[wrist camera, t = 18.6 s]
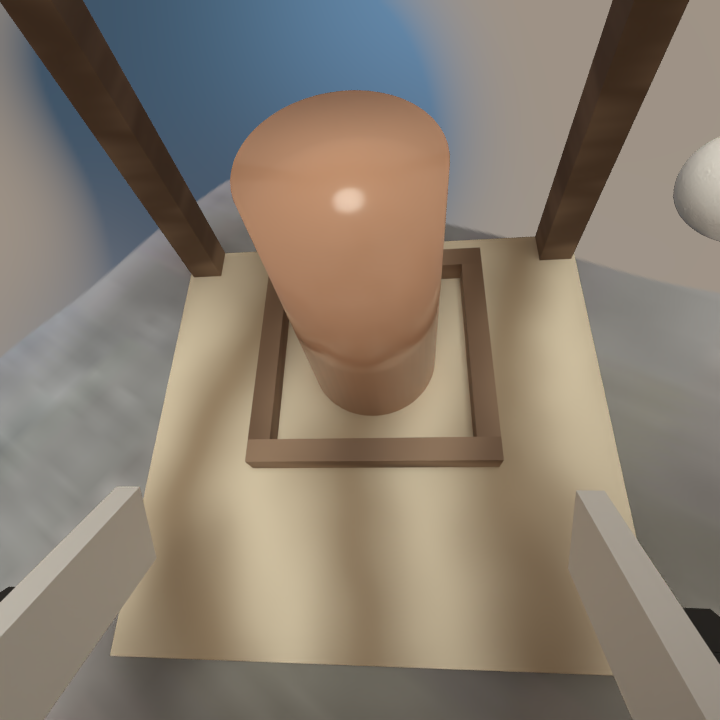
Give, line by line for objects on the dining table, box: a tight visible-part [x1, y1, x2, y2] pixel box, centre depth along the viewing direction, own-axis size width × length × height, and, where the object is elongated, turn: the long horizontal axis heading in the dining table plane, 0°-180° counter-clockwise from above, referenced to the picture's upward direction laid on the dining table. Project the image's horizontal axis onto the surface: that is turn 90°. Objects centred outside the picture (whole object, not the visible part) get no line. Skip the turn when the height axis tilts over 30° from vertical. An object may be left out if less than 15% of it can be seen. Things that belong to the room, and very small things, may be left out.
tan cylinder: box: [230, 90, 450, 416], centre depth 18 cm, size 6×6×12 cm
